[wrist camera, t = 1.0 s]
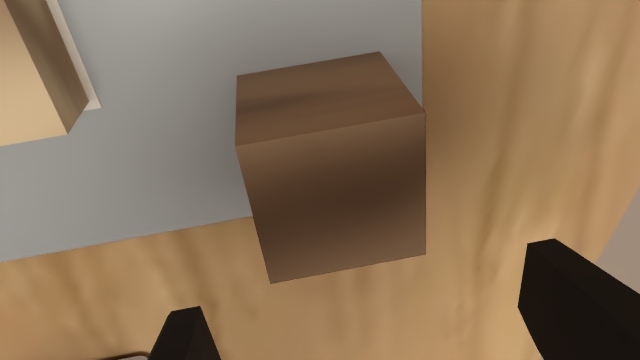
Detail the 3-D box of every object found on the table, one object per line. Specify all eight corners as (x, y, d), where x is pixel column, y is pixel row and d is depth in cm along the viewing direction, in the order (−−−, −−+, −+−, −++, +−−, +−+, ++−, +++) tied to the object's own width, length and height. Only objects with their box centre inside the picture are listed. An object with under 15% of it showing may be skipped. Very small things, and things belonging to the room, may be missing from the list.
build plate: (418, 177, 21) (423, 185, 20) (-58, 264, 20) (-67, 275, 19) (413, -259, 13) (420, -265, 12) (-376, -147, 12) (-406, -147, 11)
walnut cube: (386, 171, 19) (425, 254, 15) (264, 193, 19) (270, 283, 15) (379, 51, 17) (425, 113, 12) (236, 75, 16) (234, 146, 12)
